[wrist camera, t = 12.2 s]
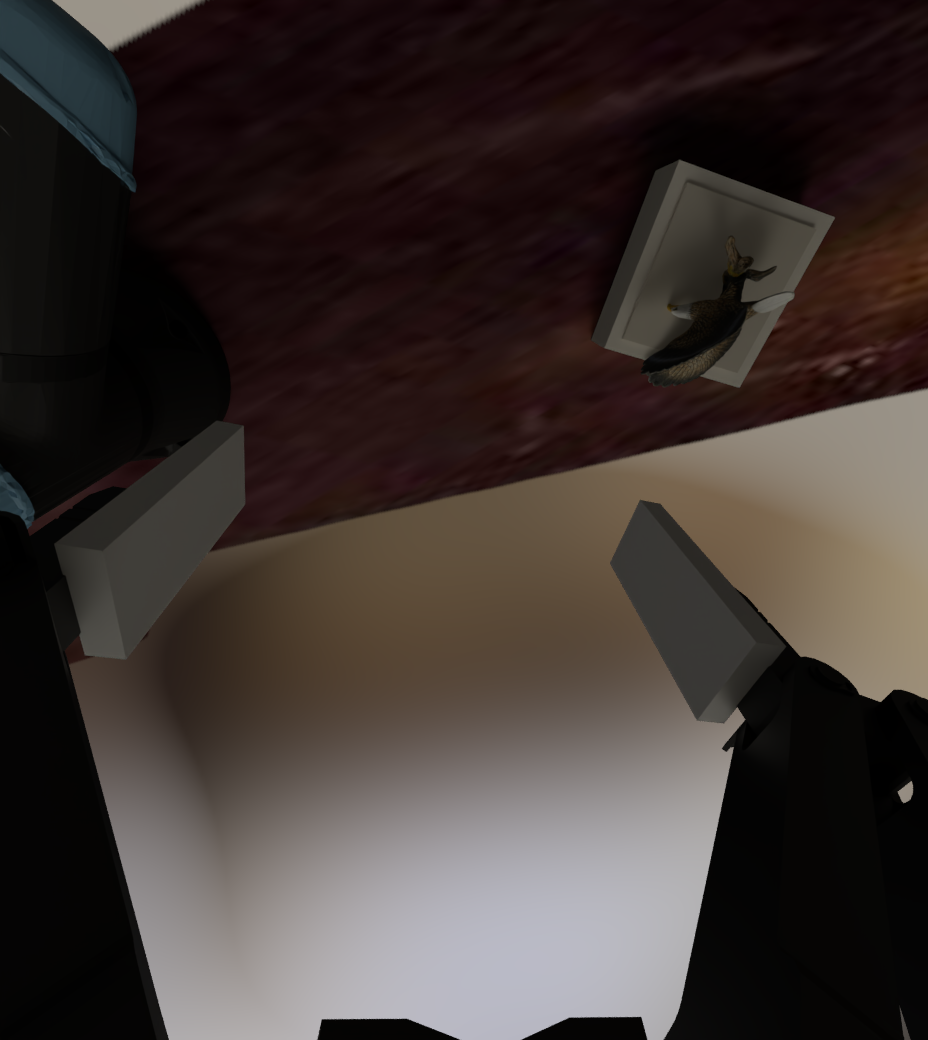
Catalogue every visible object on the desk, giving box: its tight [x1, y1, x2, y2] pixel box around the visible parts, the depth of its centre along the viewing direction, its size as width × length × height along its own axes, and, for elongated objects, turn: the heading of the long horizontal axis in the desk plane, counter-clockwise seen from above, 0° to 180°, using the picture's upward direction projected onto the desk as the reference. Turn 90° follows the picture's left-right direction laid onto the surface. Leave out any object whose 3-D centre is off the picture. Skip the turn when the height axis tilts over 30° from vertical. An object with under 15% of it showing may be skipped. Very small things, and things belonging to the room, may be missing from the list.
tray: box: [591, 160, 835, 388], centre depth 35 cm, size 12×12×4 cm
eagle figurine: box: [641, 235, 795, 387], centre depth 31 cm, size 8×7×9 cm
